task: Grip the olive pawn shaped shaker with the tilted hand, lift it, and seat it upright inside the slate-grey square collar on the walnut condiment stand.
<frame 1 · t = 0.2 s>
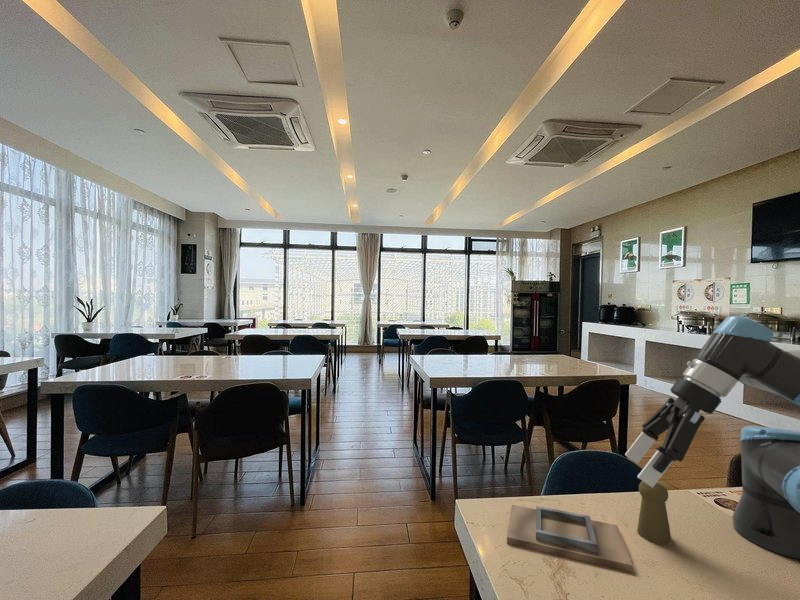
hand: (637, 469, 75), 15 cm above the table, tool tilted 30°, fingers open, 13 cm apart
olive pawn shaped shaker: (654, 536, 77), on the table
condiment stand: (563, 536, 76), on the table
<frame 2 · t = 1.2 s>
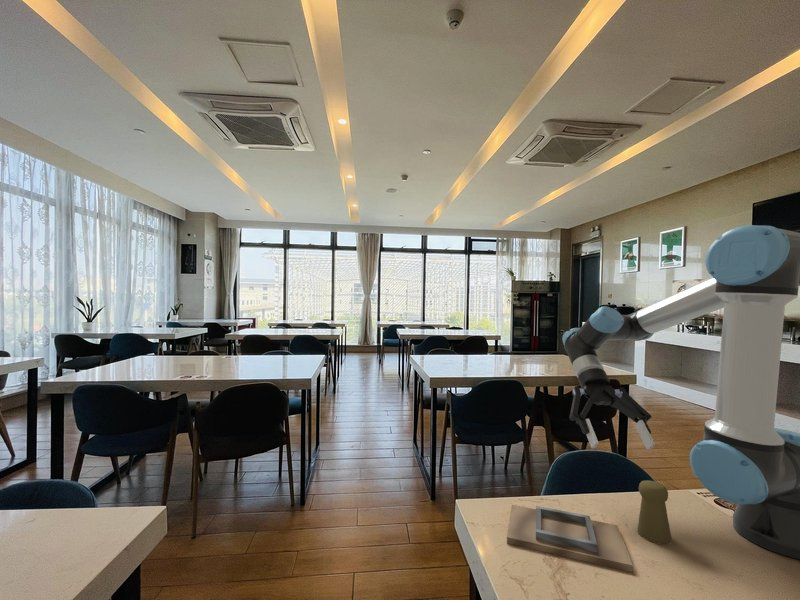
hand: (623, 446, 88), 15 cm above the table, tool tilted 45°, fingers open, 13 cm apart
nothing on the table moved.
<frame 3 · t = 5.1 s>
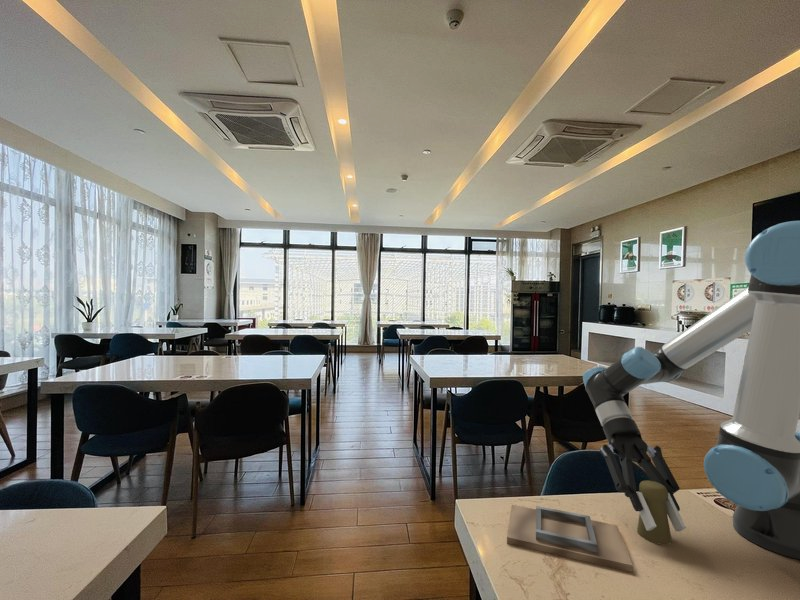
hand: (666, 528, 73), 4 cm above the table, tool tilted 45°, fingers closed on olive pawn shaped shaker, 5 cm apart
olive pawn shaped shaker: (654, 536, 77), on the table, touching gripper
when the fingers open (6 cm above the table, at t = 10.2 s): olive pawn shaped shaker drops 1 cm, resting on condiment stand.
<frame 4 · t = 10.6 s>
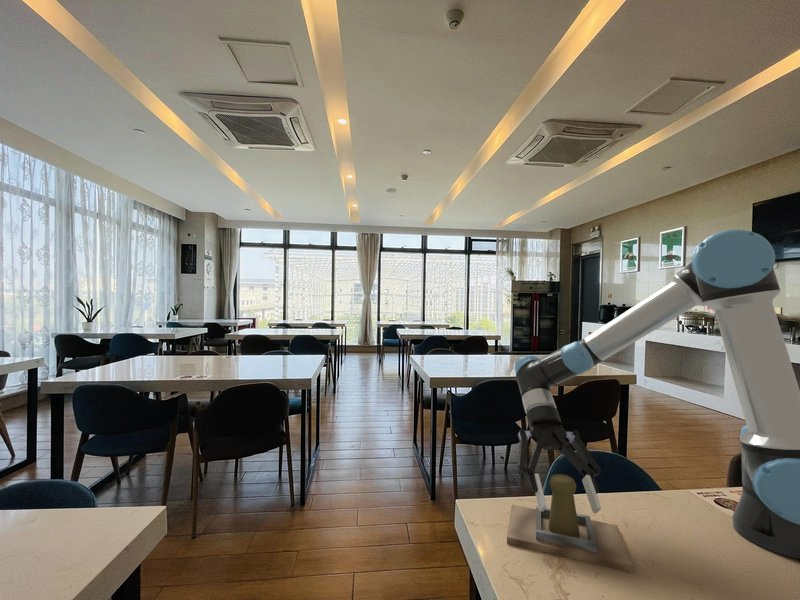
hand: (570, 509, 73), 7 cm above the table, tool tilted 45°, fingers open, 10 cm apart
olive pawn shaped shaker: (563, 531, 76), point 1 cm above the table, touching condiment stand
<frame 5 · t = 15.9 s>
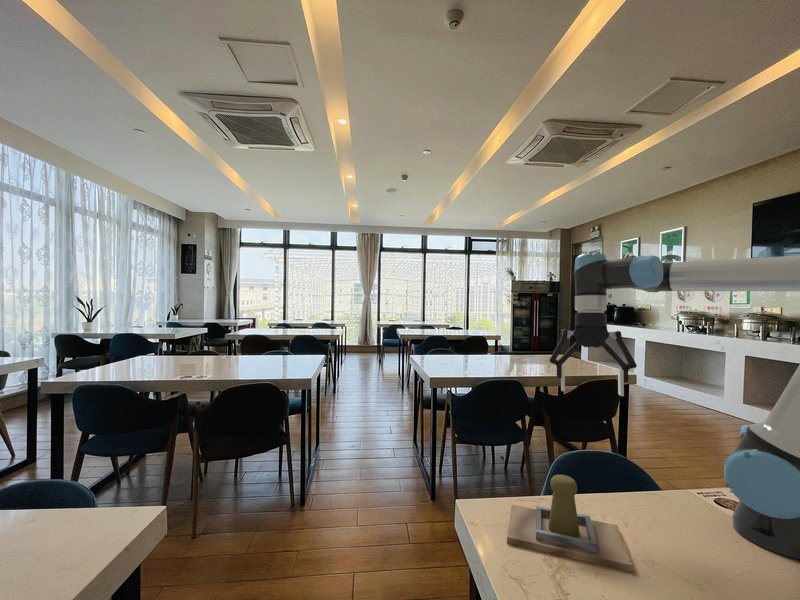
hand: (591, 392, 95), 27 cm above the table, tool pointing down, fingers open, 13 cm apart
nothing on the table moved.
at the end: olive pawn shaped shaker 0.1 cm off-centre on the condiment stand, point 1.0 cm above the condiment stand's base; olive pawn shaped shaker tilted 0°; the gripper is holding nothing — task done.
